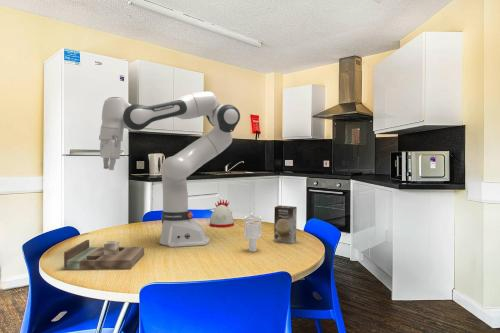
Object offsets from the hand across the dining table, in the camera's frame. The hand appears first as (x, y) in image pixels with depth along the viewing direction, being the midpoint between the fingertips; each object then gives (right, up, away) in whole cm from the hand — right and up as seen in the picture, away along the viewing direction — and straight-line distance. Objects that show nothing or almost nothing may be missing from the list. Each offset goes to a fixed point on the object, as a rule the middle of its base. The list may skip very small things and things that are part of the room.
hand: (108, 169), depth 140 cm
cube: (+8, -31, -16) cm, 36 cm away
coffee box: (+75, -33, +16) cm, 83 cm away
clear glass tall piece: (+60, -34, 0) cm, 68 cm away
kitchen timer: (+42, -33, +55) cm, 77 cm away
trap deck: (+6, -34, -16) cm, 38 cm away
